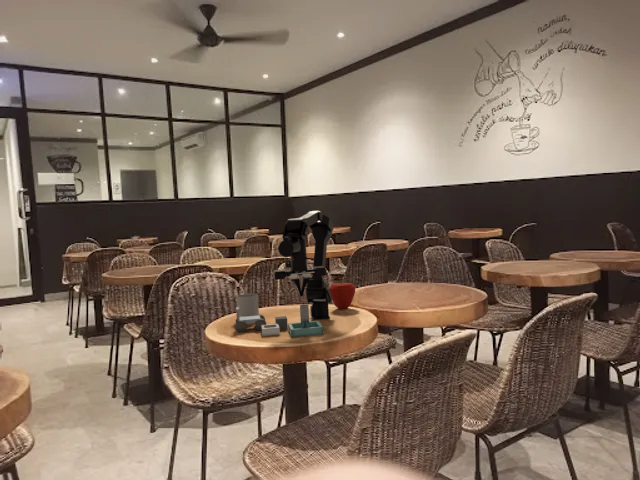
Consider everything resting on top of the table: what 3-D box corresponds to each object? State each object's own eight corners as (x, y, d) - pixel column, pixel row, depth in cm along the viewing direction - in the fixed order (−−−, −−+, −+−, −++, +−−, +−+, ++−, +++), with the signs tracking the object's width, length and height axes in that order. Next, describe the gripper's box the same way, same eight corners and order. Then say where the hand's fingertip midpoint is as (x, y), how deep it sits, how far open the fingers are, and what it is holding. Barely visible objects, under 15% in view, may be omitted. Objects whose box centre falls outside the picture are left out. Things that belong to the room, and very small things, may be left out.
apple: (357, 306, 210) (356, 278, 210) (353, 311, 200) (352, 282, 199) (332, 306, 213) (331, 279, 212) (327, 311, 202) (326, 282, 202)
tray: (318, 327, 175) (318, 320, 175) (323, 334, 165) (323, 326, 165) (288, 330, 173) (288, 323, 173) (291, 337, 164) (291, 329, 163)
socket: (278, 330, 174) (278, 323, 174) (279, 334, 168) (279, 327, 168) (261, 332, 173) (261, 325, 173) (262, 336, 167) (262, 329, 167)
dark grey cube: (286, 326, 179) (286, 316, 179) (287, 329, 176) (287, 318, 175) (275, 327, 179) (275, 317, 179) (276, 330, 175) (276, 319, 175)
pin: (309, 329, 171) (307, 303, 170) (310, 331, 168) (309, 305, 168) (300, 329, 171) (299, 304, 170) (301, 331, 168) (300, 306, 167)
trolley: (265, 324, 185) (264, 303, 184) (266, 330, 175) (265, 308, 175) (236, 327, 183) (234, 306, 182) (236, 332, 174) (234, 310, 173)
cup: (254, 322, 189) (253, 297, 188) (235, 322, 190) (233, 297, 190) (261, 317, 197) (260, 293, 196) (242, 317, 199) (241, 293, 198)
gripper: (319, 249, 183) (322, 290, 184) (270, 253, 179) (273, 295, 181) (325, 252, 172) (328, 295, 173) (273, 256, 169) (276, 300, 170)
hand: (301, 296), depth 175 cm, fingers closed
